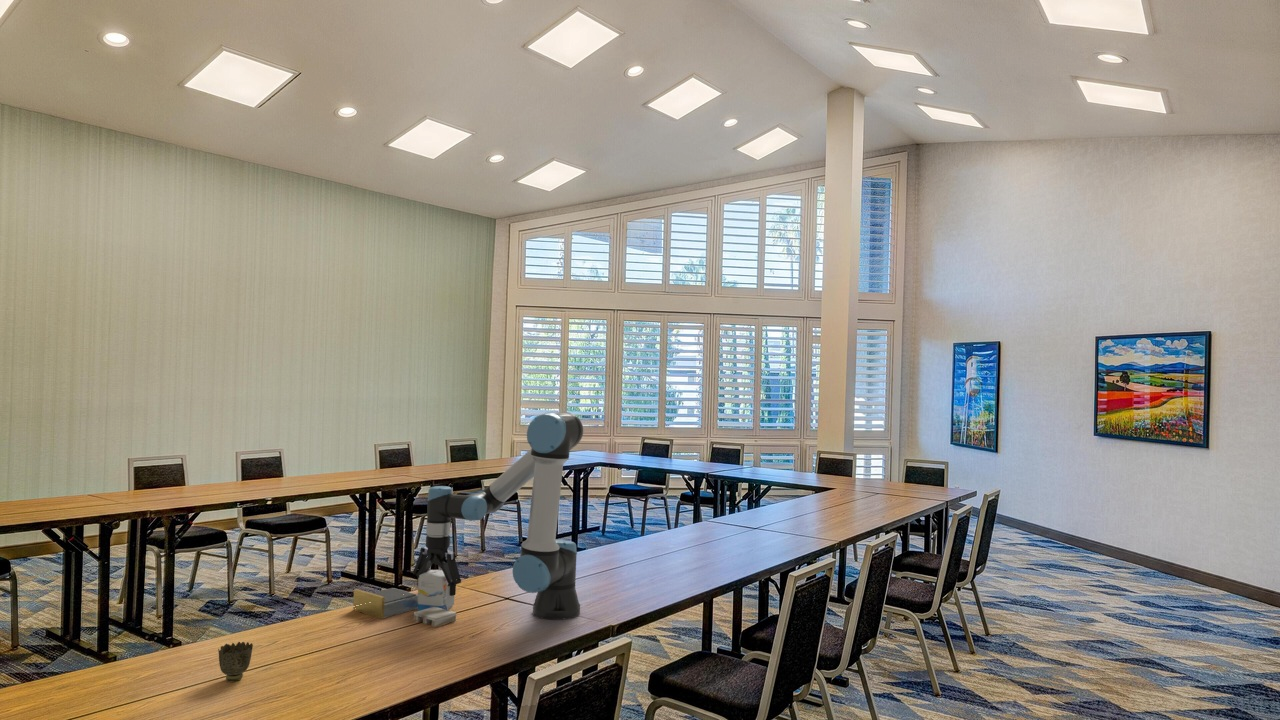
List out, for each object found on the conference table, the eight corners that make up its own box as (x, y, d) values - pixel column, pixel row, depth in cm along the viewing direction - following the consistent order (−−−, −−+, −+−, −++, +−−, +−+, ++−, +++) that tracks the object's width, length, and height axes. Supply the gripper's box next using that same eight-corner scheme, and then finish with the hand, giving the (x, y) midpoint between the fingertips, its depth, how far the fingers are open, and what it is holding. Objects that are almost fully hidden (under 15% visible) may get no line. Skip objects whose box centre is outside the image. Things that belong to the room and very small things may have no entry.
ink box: (441, 614, 243) (443, 577, 243) (416, 612, 245) (418, 574, 245) (453, 606, 252) (454, 570, 252) (429, 604, 253) (430, 568, 254)
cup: (225, 673, 190) (226, 641, 190) (256, 673, 191) (257, 641, 191) (211, 685, 183) (212, 651, 183) (243, 685, 183) (245, 651, 184)
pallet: (456, 620, 237) (456, 612, 237) (435, 627, 230) (436, 618, 230) (434, 614, 243) (434, 606, 243) (413, 620, 236) (413, 612, 236)
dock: (420, 607, 249) (421, 587, 250) (381, 618, 237) (381, 597, 237) (392, 599, 257) (393, 580, 257) (353, 610, 245) (353, 589, 245)
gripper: (474, 538, 245) (471, 606, 244) (421, 528, 259) (419, 591, 258) (456, 542, 239) (453, 611, 238) (403, 531, 253) (400, 596, 252)
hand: (435, 601), depth 248 cm, fingers open, 13 cm apart
